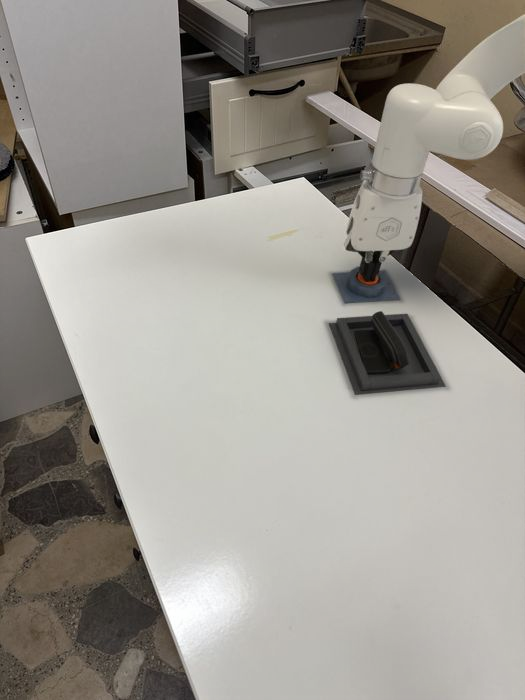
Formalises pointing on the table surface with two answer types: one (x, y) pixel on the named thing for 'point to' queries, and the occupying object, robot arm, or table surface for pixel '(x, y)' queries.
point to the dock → (408, 378)
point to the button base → (364, 288)
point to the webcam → (381, 346)
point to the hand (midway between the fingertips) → (367, 276)
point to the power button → (361, 279)
